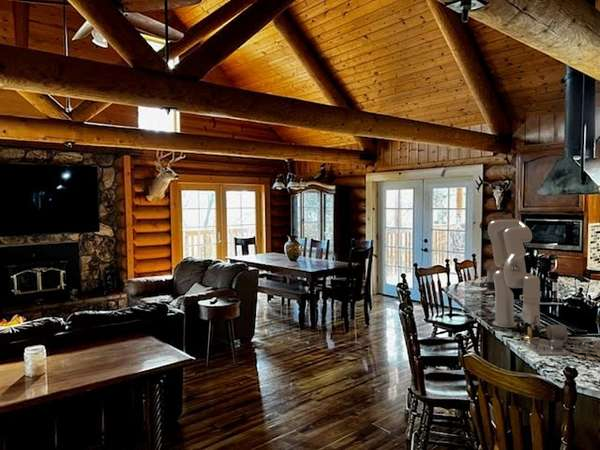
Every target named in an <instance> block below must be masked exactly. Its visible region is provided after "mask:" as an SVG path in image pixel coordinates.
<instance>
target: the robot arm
mask: <svg viewBox="0 0 600 450" xmlns="http://www.w3.org/2000/svg"><path fill="white" fill-rule="evenodd" d="M487 234H488V237H489V240H490V242H491V245H492V254H493V255H492V256H493V261H494V265H495V266H496V268H497V267H498V268H503V269H499V270H498V271H496V272H495V273H494V275H493V279H494V284H495V290H494V293H495V295H494V296H495V298H494V301H495V302H494V303H495V304H494V305H495V309H494V310H495V312H494V314H495V317H494V319H495V320H493V321H492V322H491V323H492V325H493V326H496V327H499V328H508V329H509V328H516V327H517V325H518V324H517V322H515V320H514V319H515V318H514V317H515V316H514V315H515V311H514V310H515V307H514V305H515V303H514V301H515V299H514V298H515V297H514V296H515V295H514V292H513V291H512V290H511V289H522V295H523V297H522V299H523V300H522V302H523V303H522V307H521V308H522V310H521V320H522V321H523V332H524V333H528V326H532V327H533V329H532V337H539V338H540V330H541V325H542V323H541V314H540V313H541V312H540V304H541V280H540V277H538V276H536V275H533V274H532V273H528V272H527V268H526V262H525V261H526V260H525V256H526V249H525V246H524V243H530V242H531V241H532V239H533V233H532V231H531V229H530V227H528V225H526V224H525V223H524V222H523V221H521V220H520V219H496V220H493V221H492V220H491V221H490V222H489V223H488V226H487ZM512 268H513V269H512Z"/></svg>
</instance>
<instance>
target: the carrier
mask: <svg viewBox="0 0 600 450" xmlns="http://www.w3.org/2000/svg"><path fill="white" fill-rule="evenodd" d="M520 344H521V345H523V346H524V347H526V348H528V349H529V350H530V351H532V352H533V353H534V352H535V353H534V354H535V355H537V354H538V355H537V356H565V355H566V356H569V355H570V351H569V350H567V349H565V348H563V347H564V345H563V344H564V343H563V340H559V339H549V340H548V339H545V338H539V339H528V340H527V341H525V340H521V343H520Z"/></svg>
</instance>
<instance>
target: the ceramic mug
mask: <svg viewBox="0 0 600 450" xmlns="http://www.w3.org/2000/svg"><path fill="white" fill-rule="evenodd" d="M545 331H546V336H547V338H548V339H549V340H551V339H559V340H562V341H563V344H564V343H566V341H567V340H568V337H569V336H568V332H569V331H568V328H567V326H566V324H549V325H547V326H546V328H545Z"/></svg>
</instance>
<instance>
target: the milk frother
mask: <svg viewBox="0 0 600 450" xmlns="http://www.w3.org/2000/svg"><path fill="white" fill-rule="evenodd" d="M496 271H498V270H497V269H487V270H486V276H487V277H486V279H487V280H486V281H485V282H481V283H479V287H481V288H486V289H487V290H491V291H495V284H494V279H493V275H494V273H495V272H496Z"/></svg>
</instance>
